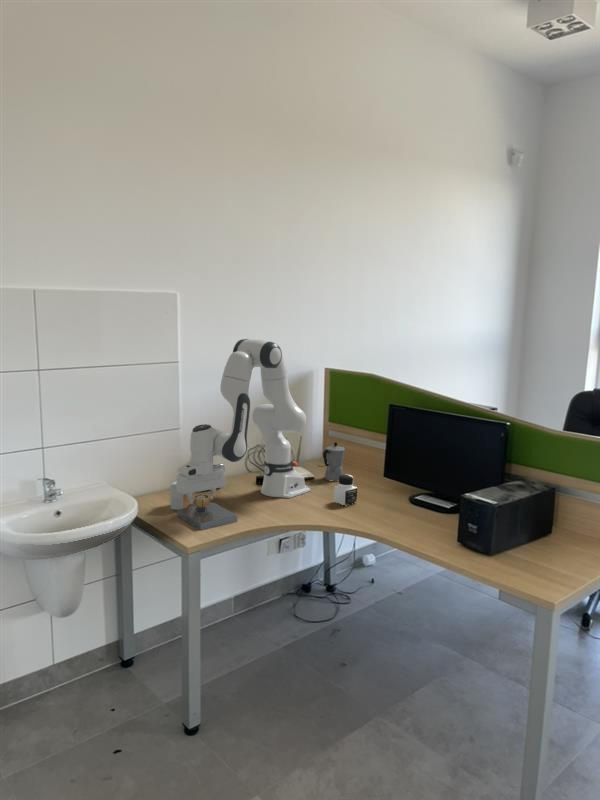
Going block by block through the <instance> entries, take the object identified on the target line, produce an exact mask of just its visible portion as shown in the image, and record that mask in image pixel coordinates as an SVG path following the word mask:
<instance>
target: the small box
mask: <svg viewBox="0 0 600 800" xmlns="http://www.w3.org/2000/svg"><path fill="white" fill-rule="evenodd" d="M176 482H177V479H176V480H175V481H174V482H172V483H170V510H174V511H175V510H176V511H177V510H178V509H183V508H188V507H190V505H191V503H190V499H189V497H188V496H187V494H184V495H181V494H179V493H178V492H177V491H176Z"/></svg>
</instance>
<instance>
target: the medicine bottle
mask: <svg viewBox="0 0 600 800" xmlns="http://www.w3.org/2000/svg"><path fill="white" fill-rule="evenodd" d="M357 500H358V487H357V486H354V477H353V475H350V474H346V473H345V474H344V473H343V475H340V476H339V481H338V485H334V487H333V502H334V503H335V502H337V503H340V504H342V505H341V506H343V505H349V504H352V503H355V502H358V501H357ZM337 503H336V504H337ZM340 504H339V505H340ZM352 505H353V504H352ZM349 506H350V505H349Z"/></svg>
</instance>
